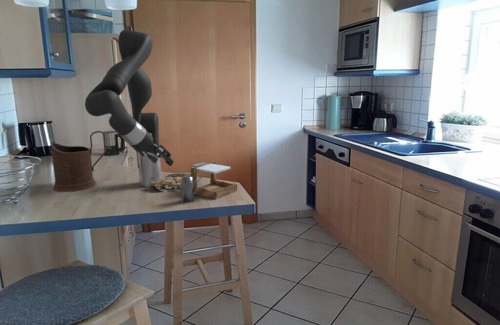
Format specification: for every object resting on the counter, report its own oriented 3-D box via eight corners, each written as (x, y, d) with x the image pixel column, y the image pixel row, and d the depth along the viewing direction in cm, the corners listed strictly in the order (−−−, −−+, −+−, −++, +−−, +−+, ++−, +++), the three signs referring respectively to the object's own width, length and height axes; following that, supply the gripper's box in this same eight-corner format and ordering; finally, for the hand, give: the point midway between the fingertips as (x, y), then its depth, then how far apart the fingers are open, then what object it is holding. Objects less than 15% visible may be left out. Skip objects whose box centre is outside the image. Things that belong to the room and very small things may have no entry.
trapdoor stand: (189, 192, 163) (188, 166, 161) (211, 185, 174) (210, 160, 172) (216, 199, 155) (215, 172, 152) (237, 190, 166) (236, 165, 163)
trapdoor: (188, 171, 164) (188, 165, 163) (205, 166, 172) (204, 161, 171) (214, 176, 155) (214, 170, 155) (230, 171, 163) (230, 166, 163)
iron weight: (180, 201, 152) (179, 177, 150) (188, 198, 156) (187, 174, 154) (188, 203, 150) (187, 179, 148) (196, 200, 153) (195, 176, 151)
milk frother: (102, 156, 237) (100, 132, 234) (105, 151, 252) (103, 129, 249) (126, 155, 241) (124, 132, 237) (128, 150, 256) (126, 128, 252)
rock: (150, 192, 174) (159, 198, 161) (146, 178, 173) (154, 182, 160) (195, 178, 185) (207, 182, 172) (192, 164, 183) (204, 167, 170)
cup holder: (56, 182, 180) (50, 130, 174) (110, 178, 187) (105, 128, 181) (49, 193, 163) (41, 136, 157) (108, 188, 170) (103, 133, 164)
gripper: (155, 128, 125) (182, 156, 137) (129, 125, 134) (156, 152, 145) (144, 146, 122) (172, 173, 134) (117, 142, 131) (146, 168, 142)
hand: (163, 162), depth 140 cm, fingers open, 8 cm apart
